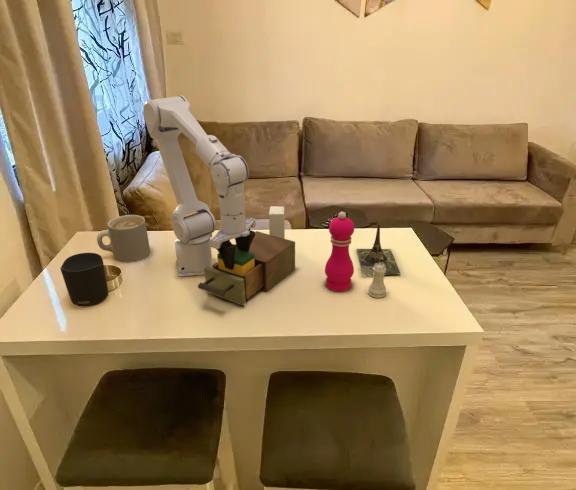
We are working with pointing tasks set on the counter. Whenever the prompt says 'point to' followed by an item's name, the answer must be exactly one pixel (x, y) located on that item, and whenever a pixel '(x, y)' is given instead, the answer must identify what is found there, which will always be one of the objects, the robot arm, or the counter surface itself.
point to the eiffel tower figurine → (377, 258)
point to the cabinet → (273, 257)
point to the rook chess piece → (378, 282)
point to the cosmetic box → (277, 221)
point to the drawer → (233, 283)
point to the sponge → (239, 263)
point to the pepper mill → (340, 254)
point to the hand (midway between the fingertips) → (236, 263)
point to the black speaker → (85, 279)
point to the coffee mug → (126, 238)
